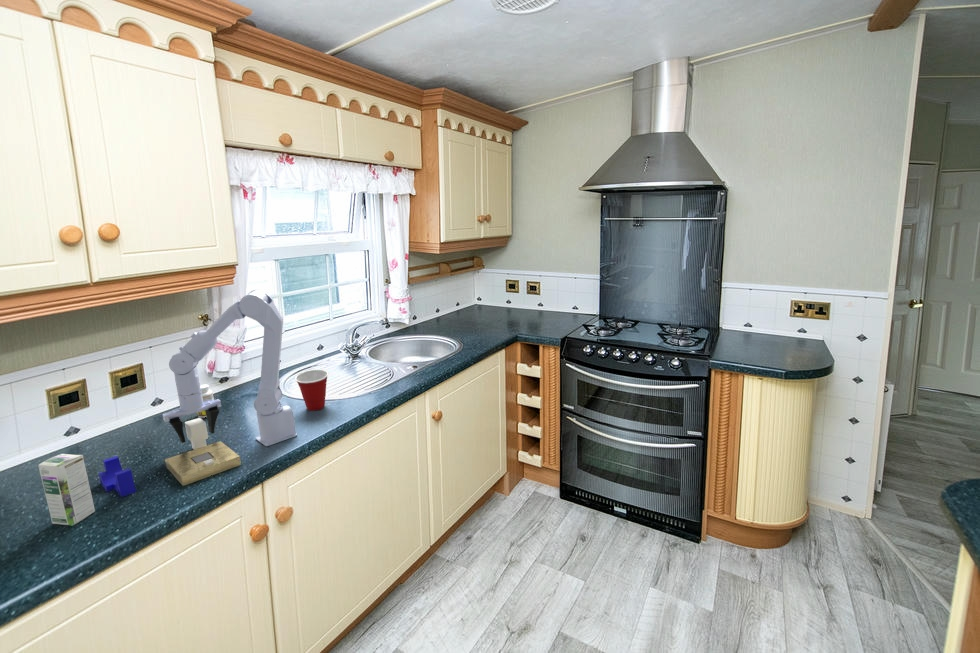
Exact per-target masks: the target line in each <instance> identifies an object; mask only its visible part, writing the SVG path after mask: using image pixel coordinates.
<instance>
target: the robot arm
mask: <svg viewBox="0 0 980 653" xmlns="http://www.w3.org/2000/svg"><path fill="white" fill-rule="evenodd" d="M245 317H247V318H250V319H252V320H254V321H256V322H257V323H259V325H261V327H263V343H262V352H261V353H262V356H261V367H260V368H261V371H260V382H259V386H258V389H257V390H258V391H257V396H256V397H255V399H254V401H253V408H254V410H255V411H256V418H257V425H258V431H259V435H258V436H255V440H257V441H258V442H259V443H260V444H263V446H265V447H270V446H272V445H274V444H278V443H281V442H283V441H285V440H289V439H291V438H295V437H298V433H297V430H296V423H295V416H294V412H293V409H292V408H291V407H290V406H289V405H288V404H287V405H283V404H282V402H280V400H281V399H282V397H283V391H282V389H281V385H280V384H281V381H280V379H279V378H280V364H281V355H282V354H281V351H282V341H283V340H282V338H283V328H284V327H283V326H284V321H283V320H284V319H283V316H282V315H281V313H280V311H279V310H278V307H277V306H276V304H275V302H274V299H273V297H272V296H270V295H269V294H268V293H266V292H265V291H264V290H261V289H253V290H251V291H249V293H248V294H246V295H244V296H243V297H242V298H240V299H239V300H237V301H236V302H234V303H233V304H232V305H230V306H229V307H228V308H227V309H226V310H225V311H224V312H223V313H222V314H221V315H220V316H219V317H218V319H217V320H216V321H214V323H213V324H212V325H211V326H210V327H209V328H207V330H204V329H203V330H199V331H196V332H193V333H192V334H191V336H190V337H191V338H190V339H189V340H188V342H187V343H185V344H184V345H181V346H180V347H179V348H178V349H179V350H180V351H178V352H176V353H175V354H173V355H172V356H171V358H170V359H169V362H168V366H169V369H170V371H171V372H173V374H174V380H175V386H176V387H175V388H176V392H177V396H178V402H179V407H178V408H176V409H173V410H171V411H168V412H165V413H162V419H163V421H164V422H165V423H169V424H170V425H171V426H172V428H173V429H174V431H175V432H176V434H177V436H178V438H179V442H181V443H182V444H183V443H186V439H185V438H186V437H185V434H184V428H183V421H182V420H181V418H183V417H186V416H191V415H194V414H197V412H201V411H205V412H206V416H207V417H206V420H207V426H208V432H209V433H210V434H211V435H212V434H215V426H216V422H217V419H218V417H219V414H220V409H219V408H221V407H222V402H221V399H219V398H217V399H214V400H211V401H205V402H203V398H202V392H201V387H200V385H201V382H200V376H199V372H198V367H197V366H198V364H199V362H200V361H202V360H203V359H204V358H205V357H206V356H207V355H208V354H209V353H210V352H211V351H212V350H213V349H214V348H215V347H216V346H217V344H218V340H217V338H218V337H219V336H220V335H221V334H222V333H223V332H224V331H226V330H227V329H228V327H229V326H231V325H232V323H234V322H235V321H236V320H241V319H244V318H245Z"/></svg>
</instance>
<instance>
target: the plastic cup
mask: <svg viewBox="0 0 980 653" xmlns="http://www.w3.org/2000/svg"><path fill="white" fill-rule="evenodd" d="M328 376H329V372H328V371H327V370H325V369H310V370H305V371H302V372H300V373H298V374H297V375H296V376H295V377H294V380H295V382H297V384H298V387H299V389H300V393H301V396H302V398H303V401H304V405H305V408H306V410H307V411H311V412H312V411H314V412H315V411H320V410H322V409H324V408H325V405H326V393H327V381H328Z"/></svg>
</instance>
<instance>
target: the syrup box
mask: <svg viewBox="0 0 980 653" xmlns="http://www.w3.org/2000/svg"><path fill="white" fill-rule="evenodd" d="M37 467H38V469H39V475H40V478H41V482H42V487H43V489H44V490H43V491H44V495H45V499H46V503H47V507H48V511H49V515H50V520H51V523H52V525H63V526H72V527H73V526H74V525H76V524H78V523H79V522H81V521H83V520H84V519H86V518H88V517H89V516H90V515H92V514H93V513H95V512H96V509H95V505H94V499H93V495H92V491H91V487H90V483H89V478H88V472H87V470H86V464H85V459H84V455H83V454H71V453H70V454H67V453H61V454H58V455H55V456H52V457H50V458H48V459H46V460H44V461H42V462H41V463H39V464H38V466H37Z"/></svg>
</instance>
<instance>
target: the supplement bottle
mask: <svg viewBox="0 0 980 653" xmlns="http://www.w3.org/2000/svg"><path fill="white" fill-rule="evenodd" d="M200 387H201V392H202V398H203V402H205V401H211V400H215V398H214V393H213V390H212V389H210V387H209V384H200ZM196 416H197V418H201V419H204V418H205V417H206V418H207V416H206V412H205V411H201V412H197V413H196ZM206 418H205V419H206Z"/></svg>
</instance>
